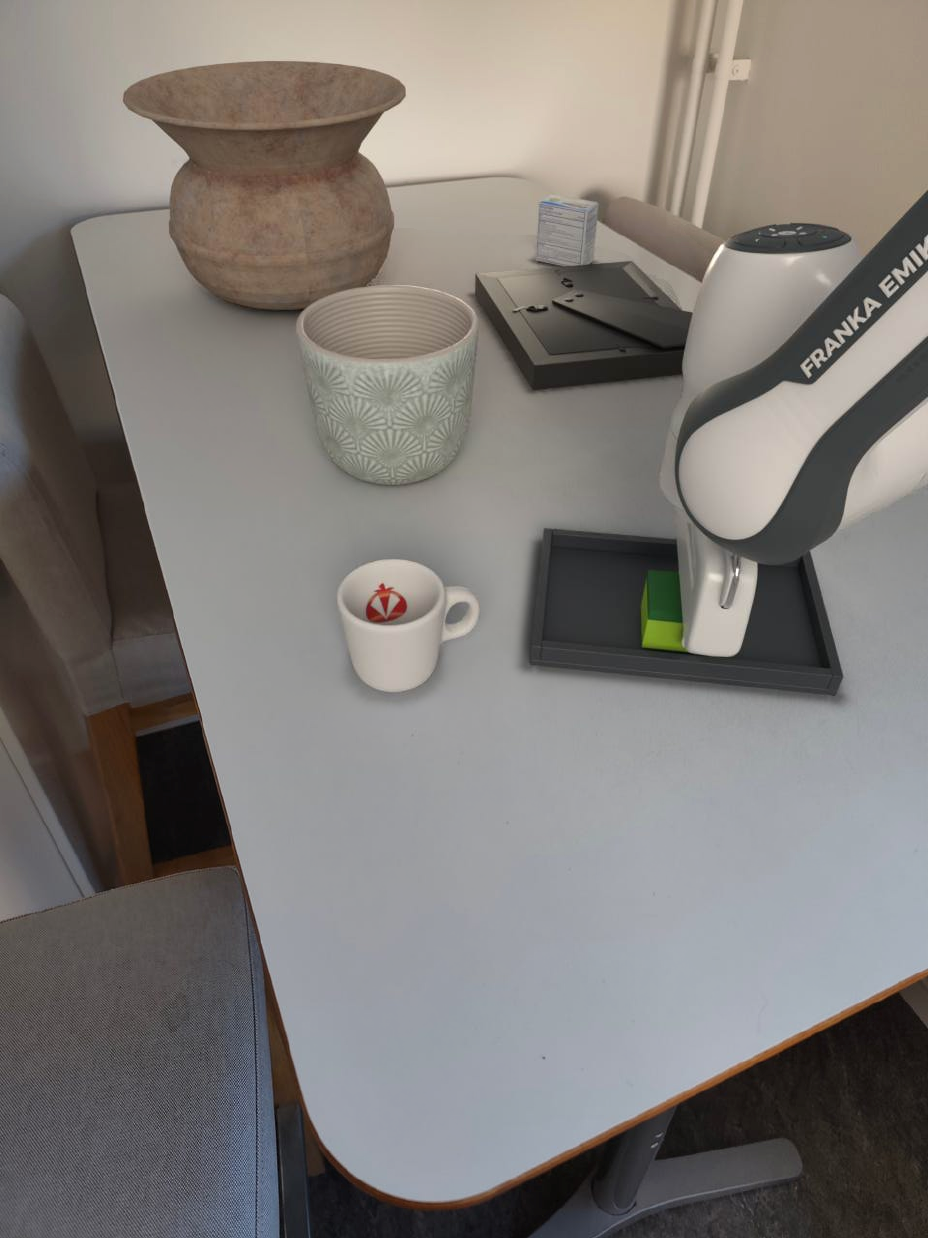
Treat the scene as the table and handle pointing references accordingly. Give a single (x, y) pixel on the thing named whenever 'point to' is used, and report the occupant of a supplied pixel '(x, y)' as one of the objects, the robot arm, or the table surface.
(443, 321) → the planter
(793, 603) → the tray
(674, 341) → the picture frame
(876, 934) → the table surface
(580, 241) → the medicine box
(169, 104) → the pot
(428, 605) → the cup
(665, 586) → the sponge
